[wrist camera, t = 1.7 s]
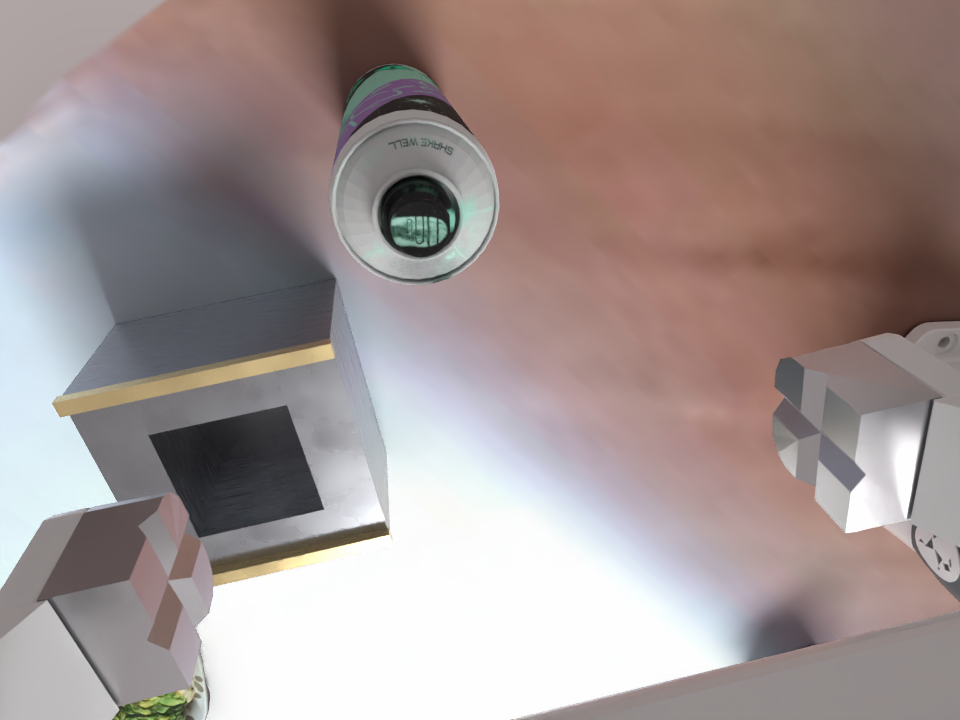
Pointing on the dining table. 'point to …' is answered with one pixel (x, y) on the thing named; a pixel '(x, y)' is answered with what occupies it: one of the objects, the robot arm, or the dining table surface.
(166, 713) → the salad plate
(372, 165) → the spray can
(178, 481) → the socket block
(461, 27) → the dining table surface
